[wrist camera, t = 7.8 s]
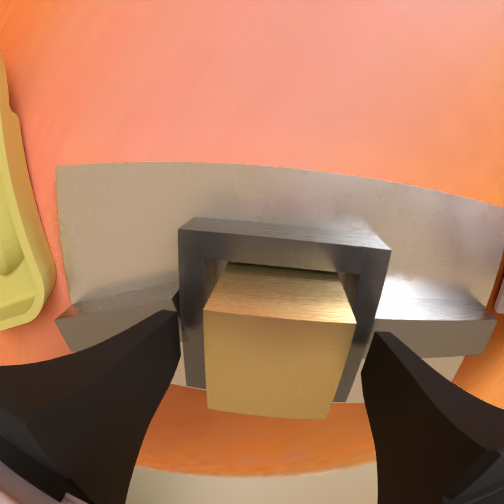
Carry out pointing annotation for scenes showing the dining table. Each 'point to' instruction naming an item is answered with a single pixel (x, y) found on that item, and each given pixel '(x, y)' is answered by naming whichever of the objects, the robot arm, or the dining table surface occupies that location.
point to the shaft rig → (276, 253)
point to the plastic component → (19, 227)
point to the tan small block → (276, 341)
